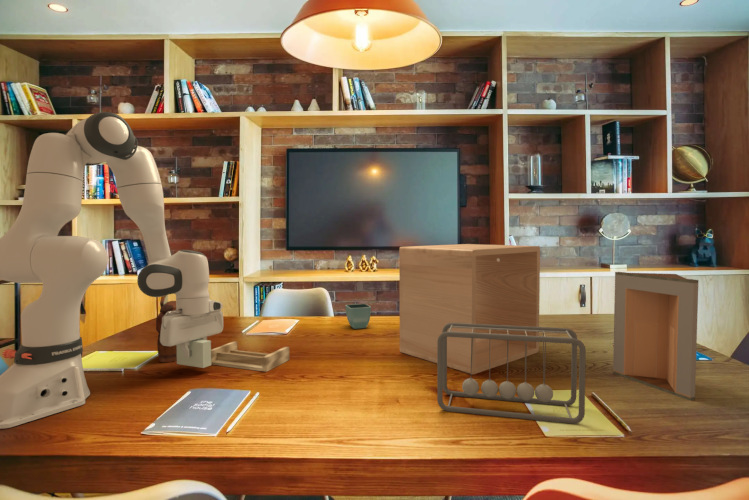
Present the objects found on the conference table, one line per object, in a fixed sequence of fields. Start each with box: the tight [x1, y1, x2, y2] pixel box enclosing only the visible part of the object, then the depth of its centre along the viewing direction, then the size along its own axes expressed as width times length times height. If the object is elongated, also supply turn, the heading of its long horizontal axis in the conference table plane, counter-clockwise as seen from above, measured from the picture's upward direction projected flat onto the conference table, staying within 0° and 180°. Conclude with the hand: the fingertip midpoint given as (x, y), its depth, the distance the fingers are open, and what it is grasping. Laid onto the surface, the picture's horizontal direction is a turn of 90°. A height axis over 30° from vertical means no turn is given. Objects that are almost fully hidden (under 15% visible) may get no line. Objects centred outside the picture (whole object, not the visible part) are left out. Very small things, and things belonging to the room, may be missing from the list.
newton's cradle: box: [436, 323, 587, 425], centre depth 99 cm, size 30×10×18 cm, turn 75°
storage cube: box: [398, 243, 541, 376], centre depth 143 cm, size 34×29×34 cm
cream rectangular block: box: [176, 339, 212, 369], centre depth 127 cm, size 3×10×7 cm, turn 66°
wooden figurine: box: [155, 300, 177, 363], centre depth 139 cm, size 12×6×18 cm, turn 175°
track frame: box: [210, 340, 290, 373], centre depth 134 cm, size 12×21×4 cm, turn 69°
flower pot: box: [345, 303, 372, 330], centre depth 180 cm, size 9×9×9 cm
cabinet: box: [612, 271, 699, 401], centre depth 113 cm, size 21×10×28 cm, turn 21°
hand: (193, 355), depth 127 cm, fingers closed on cream rectangular block, 3 cm apart
